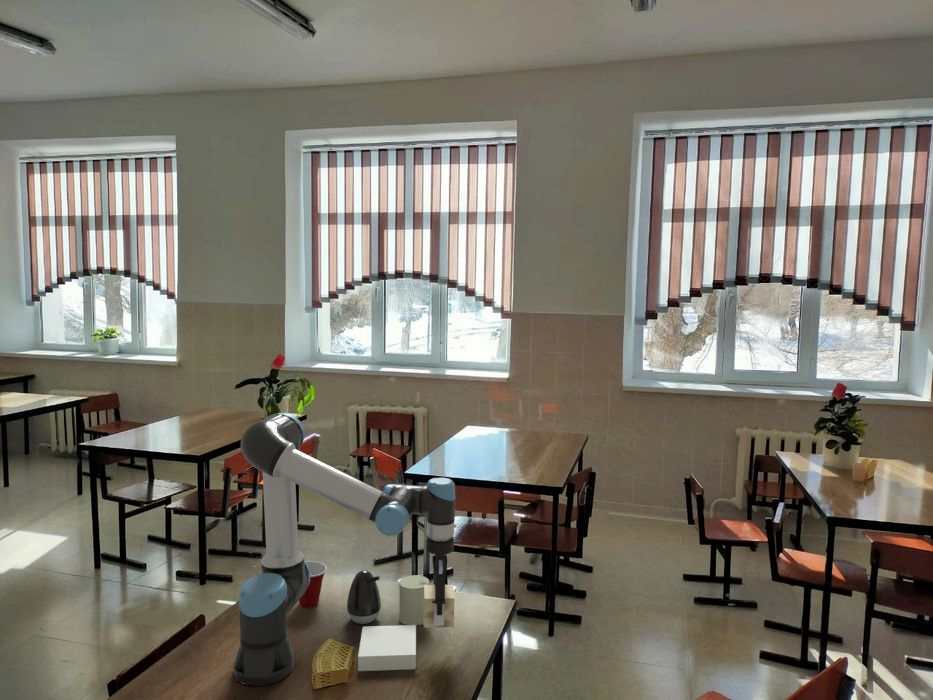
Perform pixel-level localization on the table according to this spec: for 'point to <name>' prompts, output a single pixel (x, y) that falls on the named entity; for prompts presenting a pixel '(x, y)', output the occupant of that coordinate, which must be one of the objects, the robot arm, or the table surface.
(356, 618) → the pump dispenser
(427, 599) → the maple cube
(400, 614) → the can
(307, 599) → the plastic cup
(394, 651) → the white square slab
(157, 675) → the table surface
